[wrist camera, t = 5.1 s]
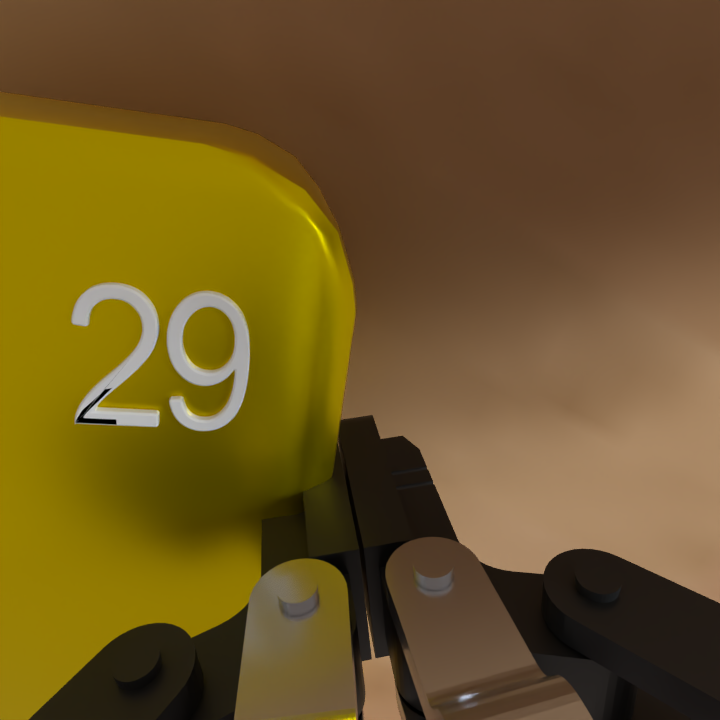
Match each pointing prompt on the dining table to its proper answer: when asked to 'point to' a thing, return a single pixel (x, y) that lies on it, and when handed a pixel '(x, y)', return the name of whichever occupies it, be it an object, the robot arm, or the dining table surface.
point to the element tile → (152, 374)
